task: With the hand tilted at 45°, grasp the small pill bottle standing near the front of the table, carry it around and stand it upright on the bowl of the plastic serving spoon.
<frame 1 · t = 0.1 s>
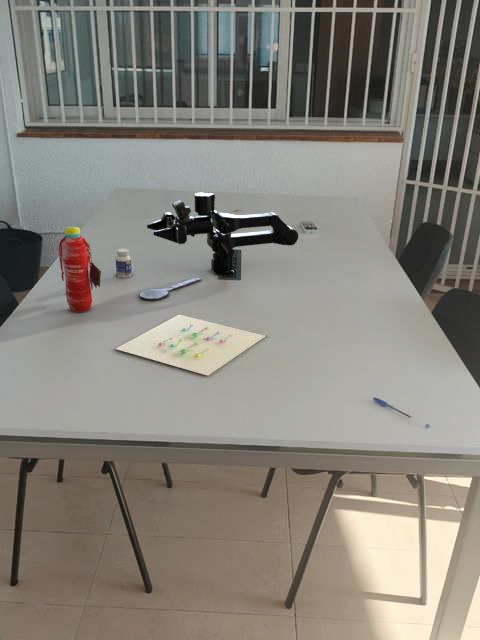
hand: (150, 230, 233), 17 cm above the table, tool horizontal, fingers open, 9 cm apart
water bottle: (85, 309, 216), on the table
pill bottle: (124, 276, 244), on the table
spoon: (154, 295, 226), on the table
printed paper: (192, 344, 194), on the table
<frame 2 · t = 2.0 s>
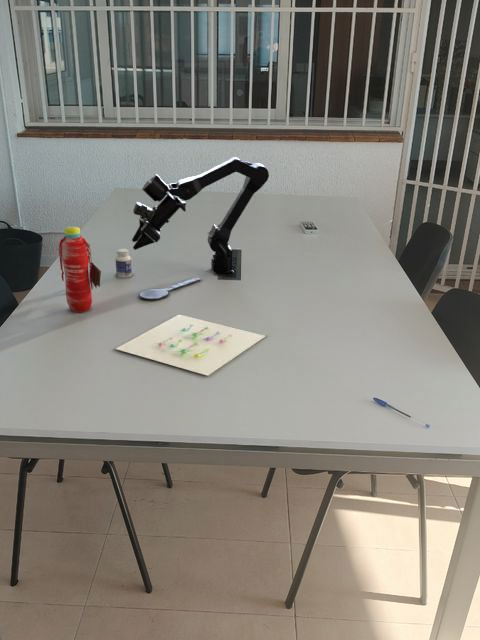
hand: (133, 244, 239), 11 cm above the table, tool tilted 45°, fingers open, 9 cm apart
nothing on the table moved.
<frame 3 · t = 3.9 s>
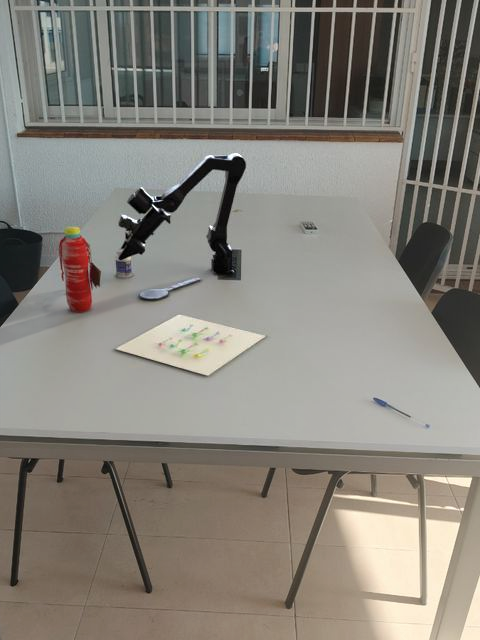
hand: (118, 257, 240), 7 cm above the table, tool tilted 45°, fingers closed on pill bottle, 5 cm apart
pill bottle: (124, 276, 244), on the table, touching gripper
everything else where it was.
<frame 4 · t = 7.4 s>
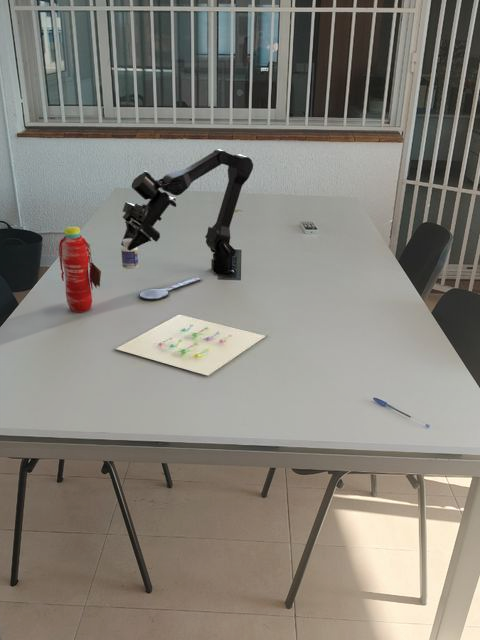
hand: (125, 247, 227), 13 cm above the table, tool tilted 45°, fingers closed on pill bottle, 5 cm apart
pill bottle: (130, 267, 231), point 6 cm above the table, touching gripper
everything else where it was.
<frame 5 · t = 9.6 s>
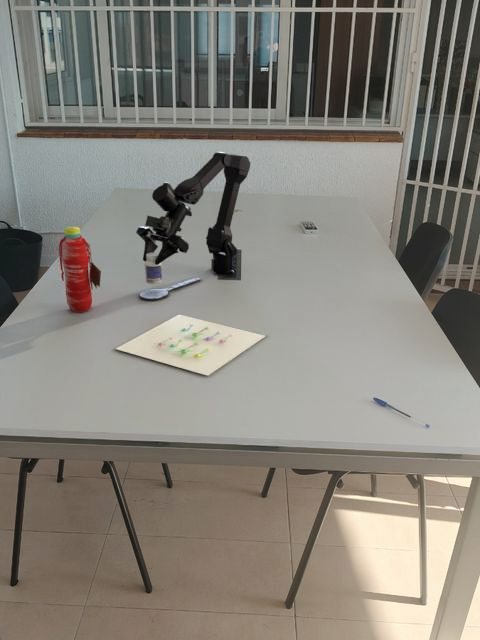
hand: (149, 262, 220), 11 cm above the table, tool tilted 45°, fingers closed on pill bottle, 5 cm apart
pill bottle: (154, 282, 224), point 5 cm above the table, touching gripper
everything else where it was.
when the fingers open (7 cm above the table, at t = 11.1 s): pill bottle stays where it is, resting on spoon.
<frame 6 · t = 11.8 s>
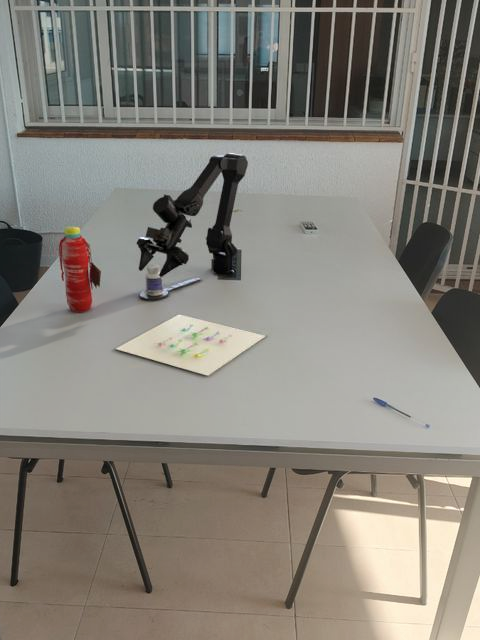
hand: (149, 273, 222), 8 cm above the table, tool tilted 45°, fingers open, 9 cm apart
pill bottle: (154, 294, 226), point 1 cm above the table, touching spoon
everything else where it was.
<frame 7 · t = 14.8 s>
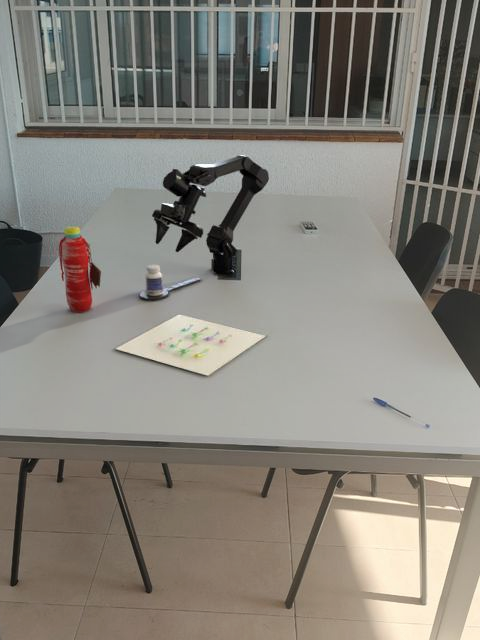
hand: (166, 247, 228), 13 cm above the table, tool tilted 35°, fingers open, 9 cm apart
nothing on the table moved.
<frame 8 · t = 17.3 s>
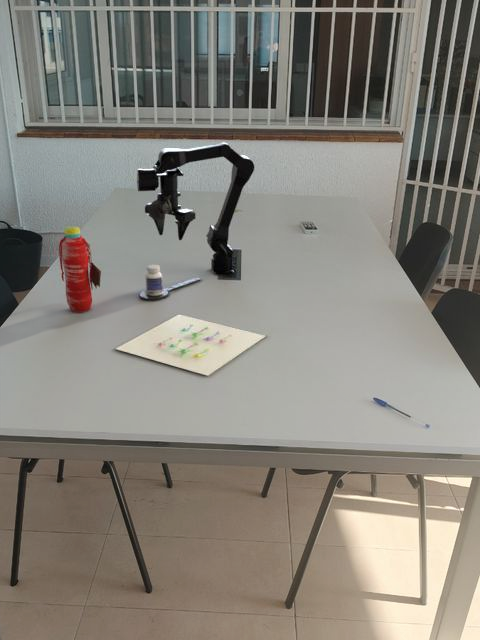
hand: (170, 237, 238), 13 cm above the table, tool pointing down, fingers open, 9 cm apart
nothing on the table moved.
at the end: pill bottle 0.2 cm off-centre on the spoon, point 0.6 cm above the spoon's base; pill bottle tilted 0°; the gripper is holding nothing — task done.
